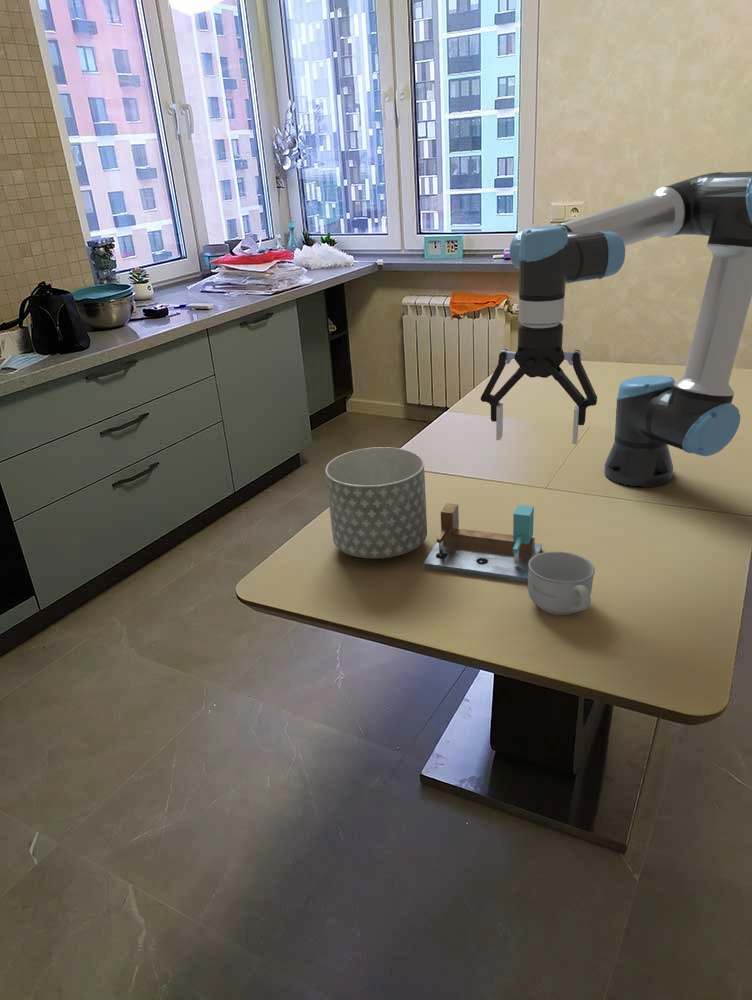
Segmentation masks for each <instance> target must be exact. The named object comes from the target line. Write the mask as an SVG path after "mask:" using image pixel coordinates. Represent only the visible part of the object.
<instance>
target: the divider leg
mask: <svg viewBox="0 0 752 1000" xmlns="http://www.w3.org/2000/svg"><path fill="white" fill-rule="evenodd" d="M534 509H535V506H532V505H525V504H517V506H516V508H515V510H514V512H513V520H512V522H513V523H512V527H513V529H512V531H513V532H512V535H513V542H516V543H515V545H514V547H513V553H514V564H519V548H520V545H521V543H524V544H529V543H530V540H531V538H533V536H534V516H535V515H534V513H535V512H534V511H535V510H534Z"/></svg>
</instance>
